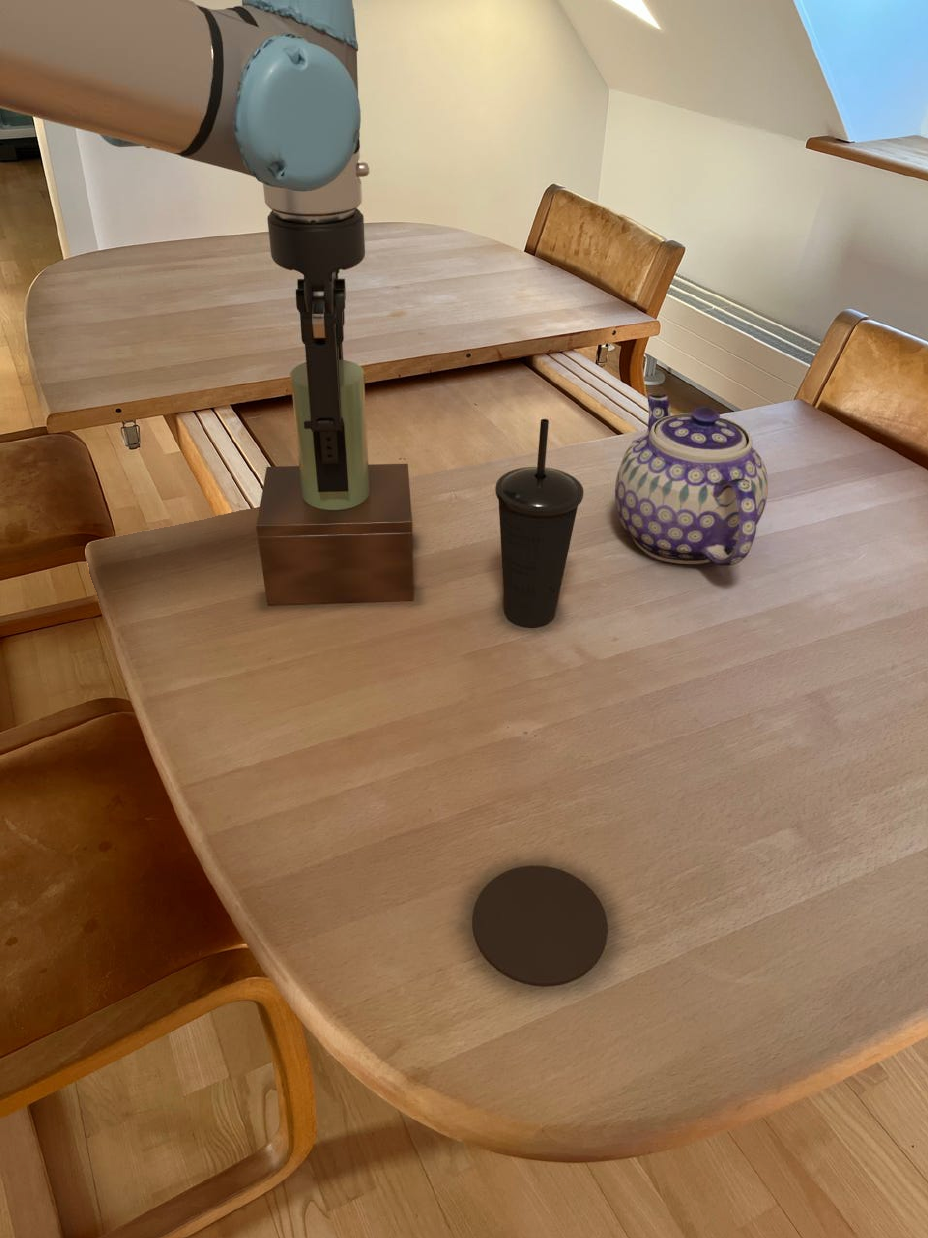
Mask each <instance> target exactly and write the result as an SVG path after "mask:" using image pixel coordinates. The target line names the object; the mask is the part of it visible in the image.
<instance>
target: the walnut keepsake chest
mask: <svg viewBox="0 0 928 1238" xmlns="http://www.w3.org/2000/svg"><path fill="white" fill-rule="evenodd" d="M368 464H369V463H368ZM264 473H265V474H264V479H263V483H262V492H261V496H260V502H259V507H258V513H257V519H256V524H255V526H256V534H257V540H258V541H257V542H258V548H259V549H258V550H259V556H260V564H261V571H262V577H263V585H264V586H263V587H264V593H265V599H266V605H267V606H290V605H319V604H320V605H323V604H351V603H379V602H380V603H381V602H411V601H414V560H413V558H414V557H413V518H412V517H413V516H412V502H411V490H410V475H409V464H408V463H378V464H377V463H376V464H373V463H372V464H371V463H370V464H369V485H370V494H369V496H368V498H367V499H366V500H365V501H364V502H363V503H361V504H359V505H357V506H355V507H352V508H348V509H343V510H324V509H319V508H316V507H313V506H311V505H309V504H308V503H306V502H305V500H304V499H303V497H302V490H301V480H300V470H299V465H288V466H287V465H286V466H284V465H283V466H282V465H281V466H266V467H265V472H264Z"/></svg>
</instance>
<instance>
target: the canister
mask: <svg viewBox="0 0 928 1238" xmlns="http://www.w3.org/2000/svg"><path fill="white" fill-rule="evenodd" d="M339 371H340V391H341V411H342V418H343V419H344V427H345V442H346V458H347V473H348V491H343V492H318V485H317V474H316V462H315V451H314V440H313V431H312V430H311V429H304V421H311V415H310V403H309V390H308V378H307V365H306V361H305V362H302V363H300V364H297V365H296V366H294V367H293V368H292V369H291V371H290V373H289V378H290V389H291V398H292V408H293V418H294V419H293V420H294V428H295V438H296V439H295V441H296V449H297V459H298V466H299V470H300V480H301V490H302V497H303V499H304V500H305V502H306V503H308V504H309V505H311V506H313V507H316V508H319V509H324V510H343V509H348V508H352V507H355V506H357V505H359V504H361V503H363V502H364V501H365V500H366V499H367V498H368V496H369V494H370V485H369V447H368V446H369V445H368V443H369V442H368V425H367V423H368V422H367V404H366V384H365V370H364V369H363V368H362V366H361V365H359V364H357V363H356V362H353V361H351V360H346V359H343V360H341V359H339Z"/></svg>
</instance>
